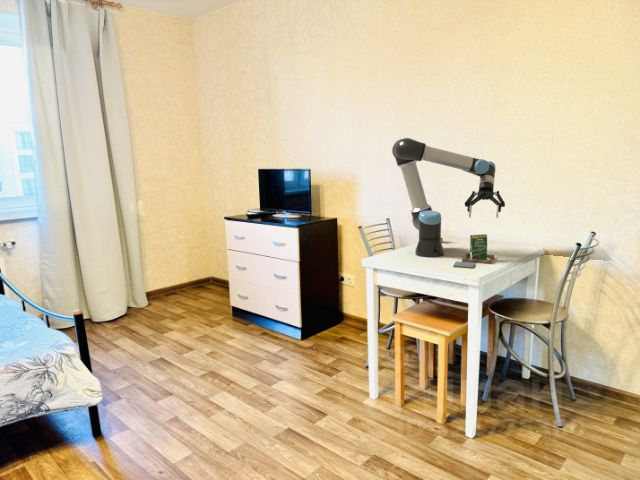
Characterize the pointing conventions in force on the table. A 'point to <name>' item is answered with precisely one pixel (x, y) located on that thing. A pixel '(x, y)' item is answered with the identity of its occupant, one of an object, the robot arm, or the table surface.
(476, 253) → the coffee box
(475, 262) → the brown flat square frame
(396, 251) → the table surface
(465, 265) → the mat
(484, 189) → the robot arm
